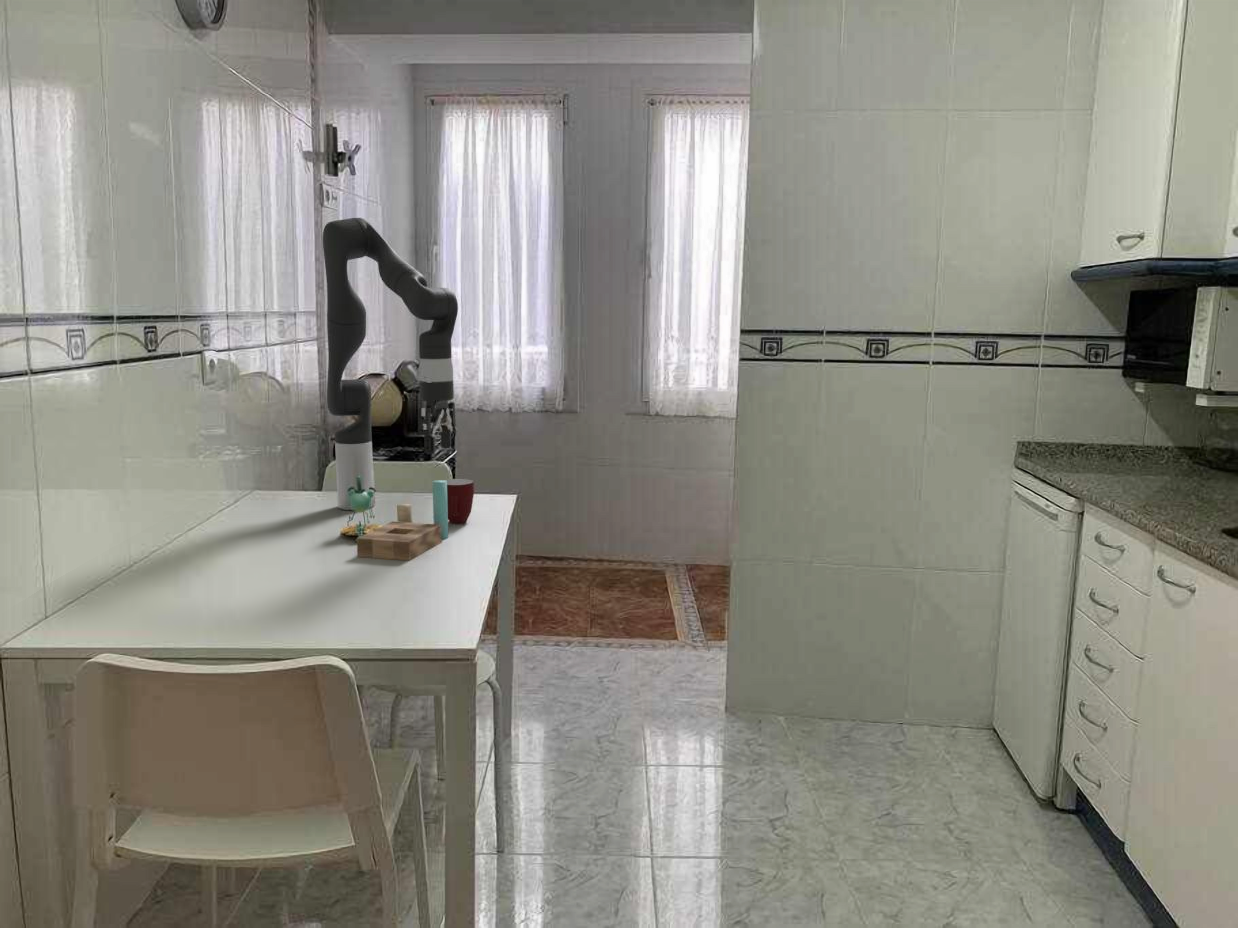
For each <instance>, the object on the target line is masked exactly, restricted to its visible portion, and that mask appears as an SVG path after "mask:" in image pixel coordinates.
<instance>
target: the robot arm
mask: <svg viewBox="0 0 1238 928" xmlns="http://www.w3.org/2000/svg"><path fill="white" fill-rule="evenodd" d="M322 248H323V249H322V251H323V258H324V267H325V276H326V293H327V294H326V298H327V301H326V303H327V304H326V306H327V309H326V331H327V332H326V333H327V349H328V352H327V353H328V365H327V366H328V367H327V385H326V386H327V387H326V404H327V409H328V413H330V414H331V416H337V417H344V416H345V417H346V416H347V417H348V416H357V418H356V420H355V421H354V422H352V423H351V424H349V425H347V426H345V427H342V428H339V429H337V430H336V431H335V433H334V445H335V446H334V447H335V450H334V451H335V467H336V469H335V470H336V471H335V472H336V489H337V490H336V491H337V492H336V493H337V508H338V509H340V510H343V511H344V510H345V511H346V510H347V511H354V510H353V509H352V507H351V506H350V508H349V510H348V509H346V508H347V506H348V505H349V503H350V496H349V492H350V491H351V490H353V491H355V489H356V490H358V488H357V480H356V477H357V476H360V477H361V486H362V490H363V488H365V492H367V493H368V492H369V491H372V492H373V497H372V498H371V507H370V509H372V508H373V507H374V506H375V504H376V492H374V491H373V490H372V489H371V490H369V488H370V487H373V488H374V489H375V488H376V487H375V469H374V463H373V462H374V459H373V442H372V441H373V438H372V436H373V435H372V388H371V385H370V383H369V381H368V380H367V379H364V378H363V379H359V378H357V379H353V378H352V379H342V378H343V374H344V372H345V369H346V368H347V365H348V364H349V362H350V361H351V359H352V358H353V356H354V355H355V353H357V351H358V350H359V349H360V347H361V346H362V344H363V342H364V341H365V339H366V336H367V311H366V307H365V304H364V302H363V301H362V299H361V298H360V296H359V295H358V293H357V292H356V290H355V289H354V287H353V286H352V285H351V283H350V280H349V274H348V262H349V261H350V260H356V259H361V258H364V257H366V258H369V259H371V260H373V261H374V262H376V263H377V266H378V273H379V277H380V278H381V281H382V282H383V284H384V285H385V286H386V287H387V288H388V289H389V290H390V291H392V292H393V293H394V294H395V295H396V296H398V297H400V298H401V300H402V301H403V303H404V305H405V306H406V308H407V309H408V311H409V312H410V314H412V315H413V316H414V317H416V318H417V319H420V320H422V321H432V324H431V328H430V329H429V330H426V331H424V332H421V334H420V335H419V339H418V347H419V348H418V349H419V351H418V353H419V363H418V386H419V387H418V388H419V389H418V390H419V393H418V394H419V395H418V396H419V400H420V401H422V402H425V407H418V410H417V412H418V414H417V415H418V416H417V418H418V419H417V420H418V421H417V422H418V425H417V426H418V427H417V429H418V431H417V432H418V435H419V436H421V437H423V438H424V439H423V441H424V445H423V446H424V447H423V448H424V453H425V454H426V455H433V454H435V453H436V439H435V438H436V437H435V435H436V431H437V430H438V429H440V446H441V447H440V448H441V449H450V448H452V432H453V428H456V425H457V424H456V423H457V421H456V407H455V405H456V404H455V402H454V401H452V400H453V399H454V398H455V397H454V396H455V394H454V366H453V358H452V354H453V353H452V337H453V334H454V330H455V325H456V321H457V318H458V317H457V316H458V310H459V303H458V299H457V297H456V294H455V293H454V291H452V289H450V288H448V287H428V281H427V279H426V277H425V276H424V275H423V274H422V273H421V272H419V271H418V270H417V269H416V268H414V267H413V266H412V265H410V264H409V263H408V262H407V261H405V260H404V259H403V258H402V257H401V256H399V254H397V252H396V251H395V250H394V249H393V248H392V247H391V246H390V244H389V243H388V241H386V239H385V238H384V237H383V236H382V235H381V234H380V233H379V232H378V231H377V230H376V228H375V227H374V226H373V225H372V224H371V223H370V222H369V221H367V220H366V219H365V218H363V217H351V218H343V219H337V220H332V221H330V222H327V223H326V224H325V226H324V228H323V232H322ZM350 487H354V489H351V490H350V491H349V492H348V489H349V488H350ZM375 490H376V489H375ZM348 507H349V506H348Z"/></svg>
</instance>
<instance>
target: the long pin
mask: <svg viewBox="0 0 1238 928" xmlns="http://www.w3.org/2000/svg"><path fill="white" fill-rule="evenodd" d="M432 506H433V507H432V510H433V511H432V513H433V524H437V525H441V529H442V540H445V539H448V538H449V520H448V507H447V481H444V480H442V479H440V480H433V481H432Z"/></svg>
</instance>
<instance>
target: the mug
mask: <svg viewBox="0 0 1238 928" xmlns="http://www.w3.org/2000/svg"><path fill="white" fill-rule="evenodd" d="M444 481H447V507H448V523H450V524H452V525H453V524H454V525H455V524H456V525H459V524H464V523H467V521H468V519H469V517H470V515H471V512H472V508H473V501H474V494H475V482H474V480H472V479H467V478H452V479H445V480H444Z"/></svg>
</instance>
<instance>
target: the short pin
mask: <svg viewBox="0 0 1238 928" xmlns="http://www.w3.org/2000/svg"><path fill="white" fill-rule="evenodd" d="M396 509H397V511H396V512H397V514H396V515H397V517H396V518H397V522H408V523H413V518H412V517H413V516H412V515H413V513H412V504H411V503H400V504H397V505H396Z"/></svg>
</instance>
